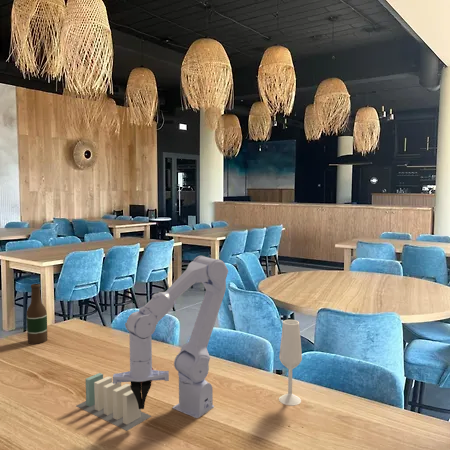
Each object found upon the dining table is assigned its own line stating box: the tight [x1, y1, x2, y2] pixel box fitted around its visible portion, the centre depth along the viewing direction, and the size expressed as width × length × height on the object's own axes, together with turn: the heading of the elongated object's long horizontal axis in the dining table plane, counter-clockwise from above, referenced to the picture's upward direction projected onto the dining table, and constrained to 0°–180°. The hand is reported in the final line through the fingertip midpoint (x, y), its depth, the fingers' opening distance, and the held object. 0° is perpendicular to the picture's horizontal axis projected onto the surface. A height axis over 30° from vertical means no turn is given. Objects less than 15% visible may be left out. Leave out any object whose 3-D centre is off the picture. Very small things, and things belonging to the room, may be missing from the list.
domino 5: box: [123, 390, 142, 425], centre depth 117 cm, size 2×5×8 cm, turn 144°
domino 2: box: [94, 375, 113, 411], centre depth 124 cm, size 2×5×8 cm, turn 144°
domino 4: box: [113, 383, 131, 420], centre depth 119 cm, size 2×5×8 cm, turn 144°
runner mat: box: [75, 400, 152, 432], centre depth 122 cm, size 22×9×1 cm, turn 54°
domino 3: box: [103, 381, 122, 415], centre depth 122 cm, size 2×5×8 cm, turn 144°
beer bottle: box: [26, 283, 48, 345], centre depth 178 cm, size 8×8×24 cm
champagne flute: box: [278, 319, 303, 406], centre depth 128 cm, size 7×7×24 cm
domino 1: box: [85, 372, 104, 407], centre depth 126 cm, size 2×5×8 cm, turn 144°
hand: (141, 407), depth 115 cm, fingers closed
